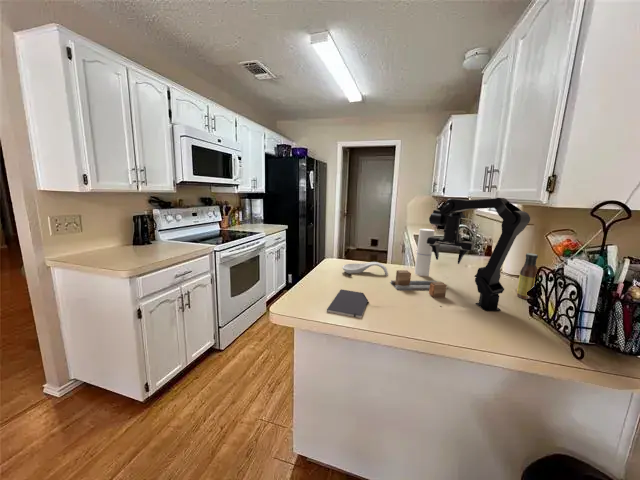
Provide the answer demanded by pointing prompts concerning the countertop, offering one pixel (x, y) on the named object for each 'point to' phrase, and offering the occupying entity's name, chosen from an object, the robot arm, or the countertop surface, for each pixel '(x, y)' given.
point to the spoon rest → (362, 267)
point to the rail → (413, 285)
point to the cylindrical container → (423, 253)
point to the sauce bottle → (527, 276)
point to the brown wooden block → (437, 289)
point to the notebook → (348, 303)
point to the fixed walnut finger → (402, 277)
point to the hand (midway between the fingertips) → (447, 261)
